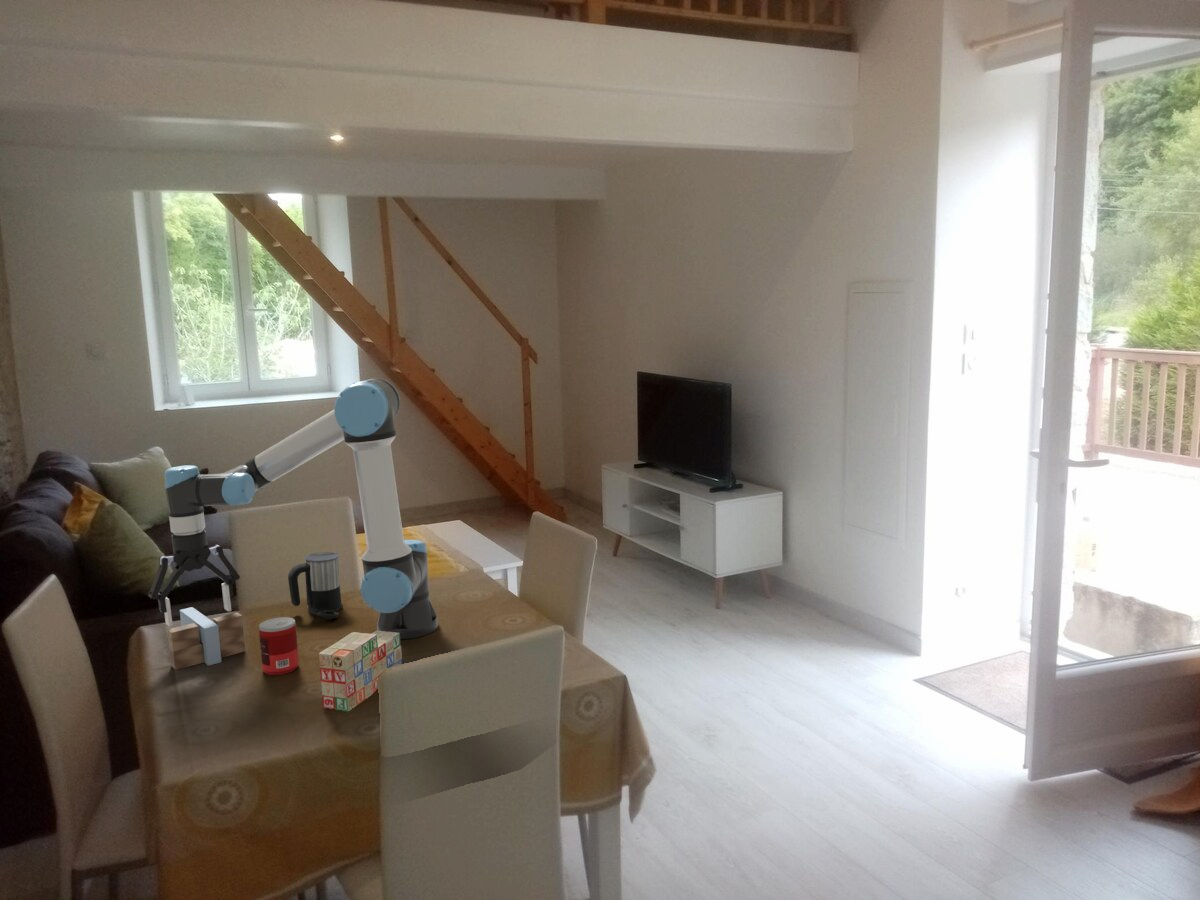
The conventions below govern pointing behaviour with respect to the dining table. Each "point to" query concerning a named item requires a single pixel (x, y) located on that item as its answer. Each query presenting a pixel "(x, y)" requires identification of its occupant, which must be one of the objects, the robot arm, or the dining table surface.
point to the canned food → (278, 645)
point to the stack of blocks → (356, 667)
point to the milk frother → (318, 584)
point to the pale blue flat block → (204, 633)
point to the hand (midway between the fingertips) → (199, 617)
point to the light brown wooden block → (191, 650)
